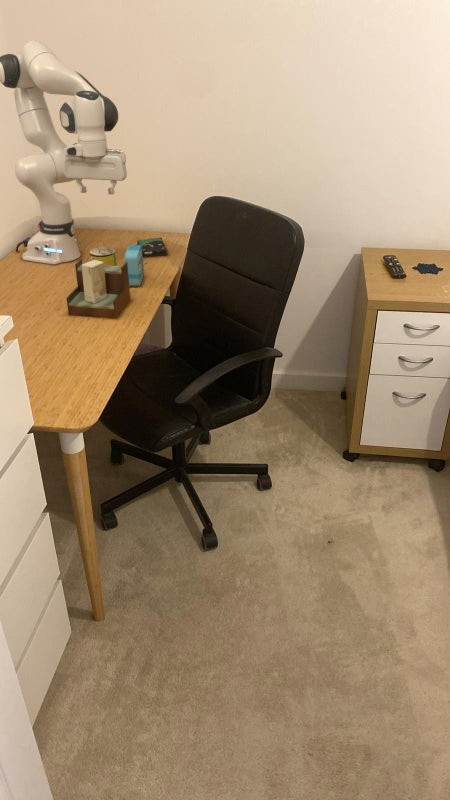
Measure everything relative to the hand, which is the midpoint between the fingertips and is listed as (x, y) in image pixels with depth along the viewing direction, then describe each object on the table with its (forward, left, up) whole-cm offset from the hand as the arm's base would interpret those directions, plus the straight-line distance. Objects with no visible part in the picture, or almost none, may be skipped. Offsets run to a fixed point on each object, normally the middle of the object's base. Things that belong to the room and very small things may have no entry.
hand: (97, 193), depth 211 cm
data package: (+8, +8, -33) cm, 35 cm away
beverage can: (-2, +4, -33) cm, 34 cm away
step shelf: (+3, -16, -33) cm, 37 cm away
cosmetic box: (+3, -18, -29) cm, 35 cm away
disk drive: (+5, +41, -33) cm, 53 cm away
